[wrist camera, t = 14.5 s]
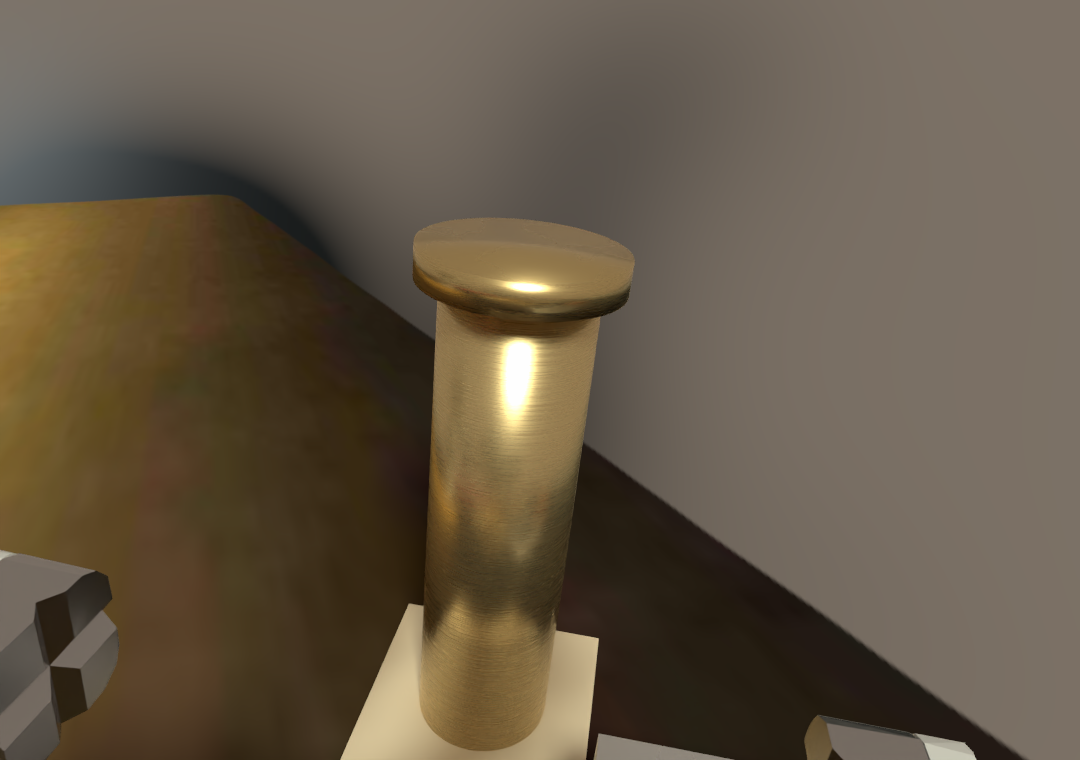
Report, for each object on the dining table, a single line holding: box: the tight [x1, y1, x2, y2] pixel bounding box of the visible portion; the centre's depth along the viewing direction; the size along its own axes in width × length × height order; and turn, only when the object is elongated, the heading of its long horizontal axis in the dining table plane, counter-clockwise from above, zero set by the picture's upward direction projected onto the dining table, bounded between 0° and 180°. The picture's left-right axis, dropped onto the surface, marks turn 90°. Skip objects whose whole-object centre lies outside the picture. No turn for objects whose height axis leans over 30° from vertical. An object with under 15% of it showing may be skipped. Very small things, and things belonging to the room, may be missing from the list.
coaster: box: [341, 604, 599, 760], centre depth 29 cm, size 8×8×1 cm
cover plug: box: [413, 218, 635, 751], centre depth 25 cm, size 6×6×17 cm
